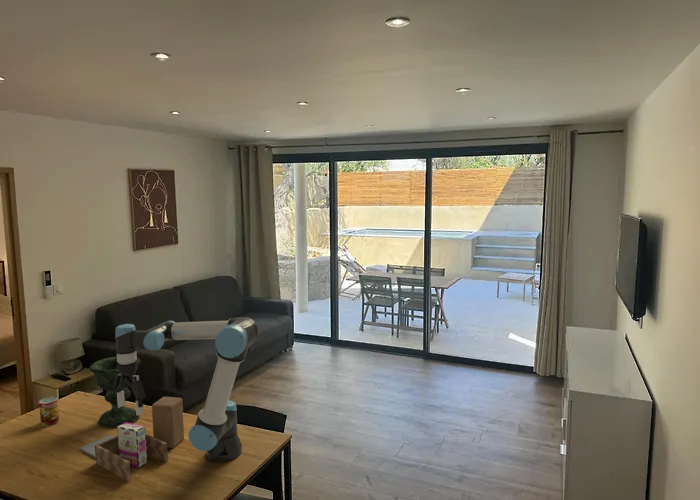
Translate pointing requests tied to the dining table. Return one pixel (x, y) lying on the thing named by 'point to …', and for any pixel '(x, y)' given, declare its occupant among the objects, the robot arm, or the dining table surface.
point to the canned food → (49, 411)
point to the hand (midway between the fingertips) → (130, 410)
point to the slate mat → (91, 447)
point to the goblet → (112, 393)
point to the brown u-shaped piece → (119, 465)
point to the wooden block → (168, 420)
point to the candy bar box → (132, 443)
